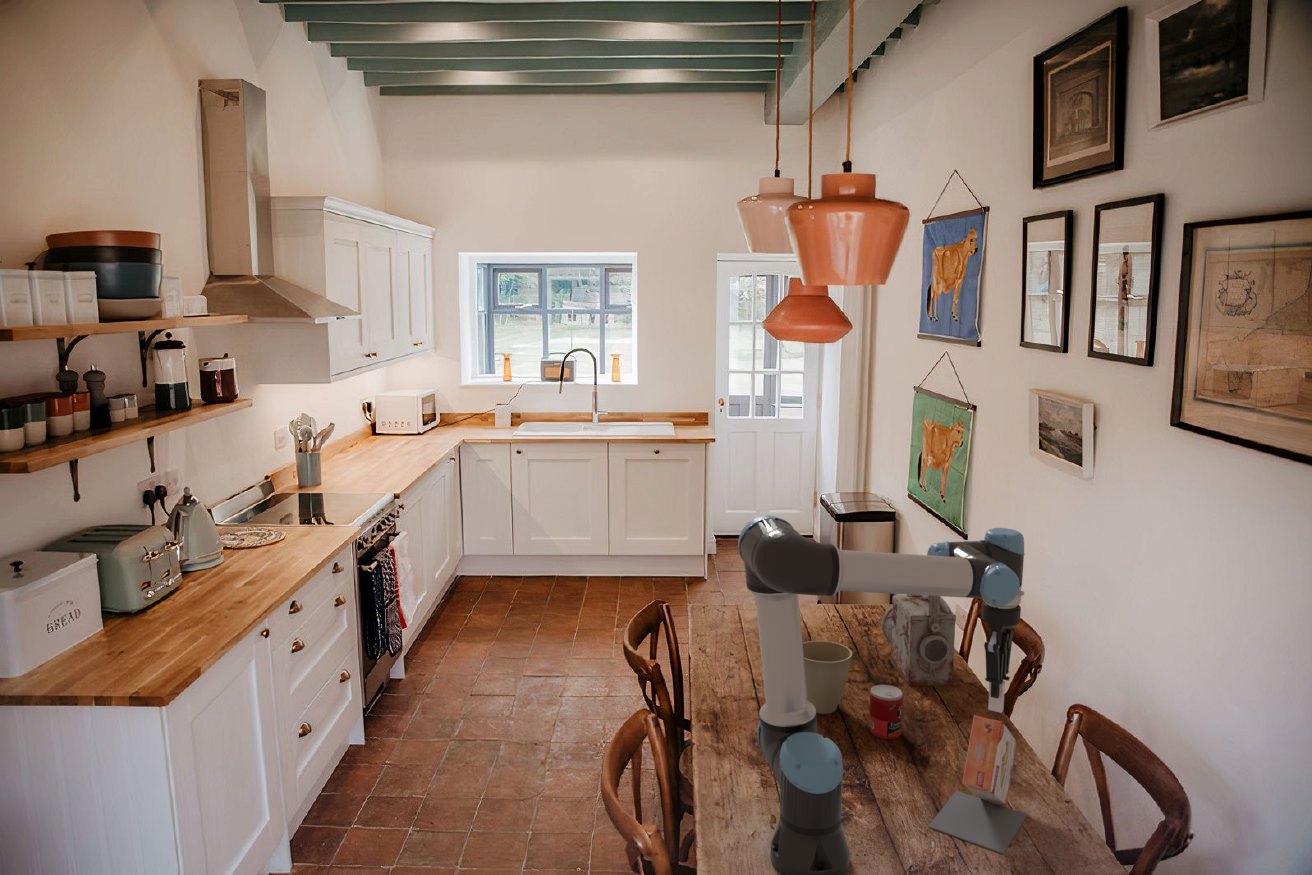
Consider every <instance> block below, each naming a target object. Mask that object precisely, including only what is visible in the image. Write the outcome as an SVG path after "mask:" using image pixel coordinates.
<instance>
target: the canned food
mask: <svg viewBox="0 0 1312 875" xmlns="http://www.w3.org/2000/svg"><path fill="white" fill-rule="evenodd" d="M869 693H870V695H869V730H870V734H872V735H873V736H875V737H876V736H877V737H876V738H879V739H882V740H883V739H884V740H895V739H898V738H900V736H901V734H902V729H903V728H902V726H903V724H902V723H903V700H904V699H903V697H904V696H903V691H902V690H901V689H900V688H898V687H896V686H893V685H888V684H877V685H873V686H871V688H870V692H869Z"/></svg>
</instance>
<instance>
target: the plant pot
mask: <svg viewBox="0 0 1312 875" xmlns="http://www.w3.org/2000/svg"><path fill="white" fill-rule="evenodd" d="M802 643H803V654H804V665H805V676H806V687H807V699H808V701H809V702H810V703H812V704H813V705H814V706H815V708H816V714H824V715H827V714H832V713H834V712H836V710H837V708H838V705H839V703H840V701H841V698H842V696H843V694H844V690H845V687H846V684H847V680H848V676H849V673H850V668H851V664H852V658H853V650H851V649H850V648H849V647H847V646H846V645H844V644H842V643H838V642H833V641H828V640H827V641H825V640H810V641H805V642H802Z"/></svg>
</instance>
